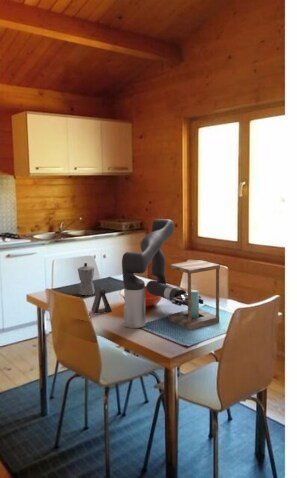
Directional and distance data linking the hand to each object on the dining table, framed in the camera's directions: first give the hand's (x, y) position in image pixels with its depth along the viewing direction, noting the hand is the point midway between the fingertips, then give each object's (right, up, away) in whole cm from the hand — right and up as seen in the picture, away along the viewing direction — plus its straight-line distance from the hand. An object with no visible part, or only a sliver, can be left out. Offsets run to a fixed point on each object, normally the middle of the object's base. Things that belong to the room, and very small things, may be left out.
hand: (196, 303), depth 197 cm
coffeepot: (-57, -2, +53) cm, 78 cm away
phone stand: (-45, -7, +20) cm, 50 cm away
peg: (-1, -9, +3) cm, 9 cm away
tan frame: (-1, -9, +3) cm, 9 cm away
